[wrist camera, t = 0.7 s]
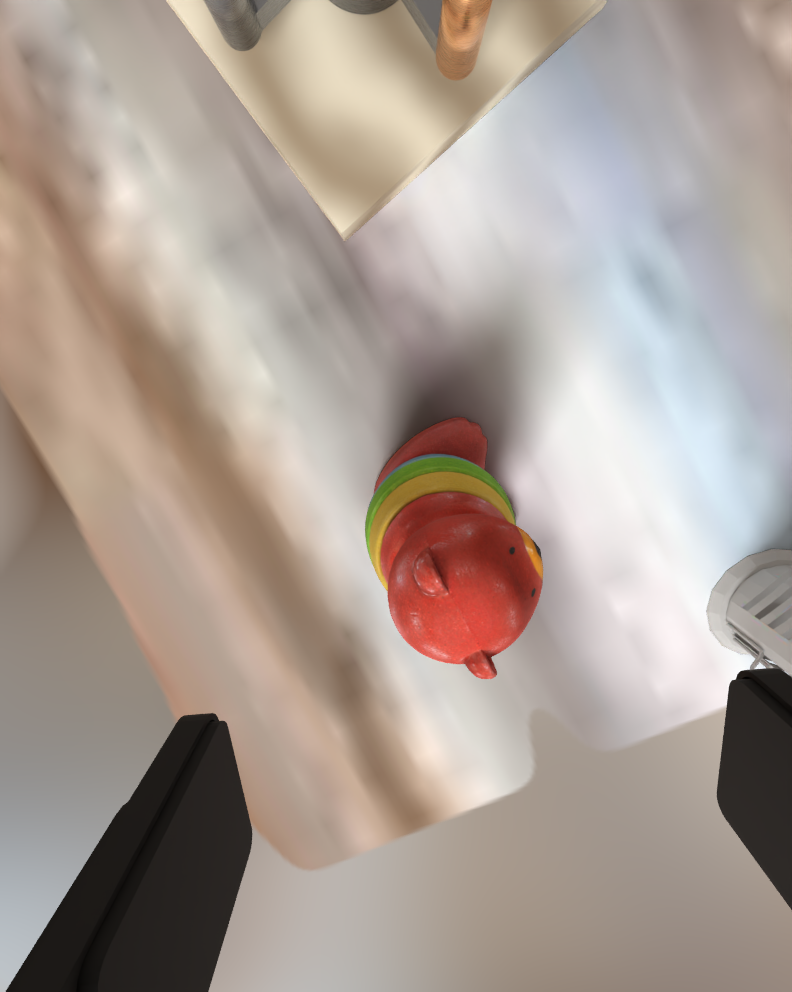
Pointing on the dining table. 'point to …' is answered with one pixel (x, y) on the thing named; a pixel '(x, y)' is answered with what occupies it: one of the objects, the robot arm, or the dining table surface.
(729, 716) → the robot arm
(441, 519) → the stacking bear
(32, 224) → the dining table surface
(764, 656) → the french press
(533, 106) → the dining table surface
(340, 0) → the capstan
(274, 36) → the stand
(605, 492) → the dining table surface
